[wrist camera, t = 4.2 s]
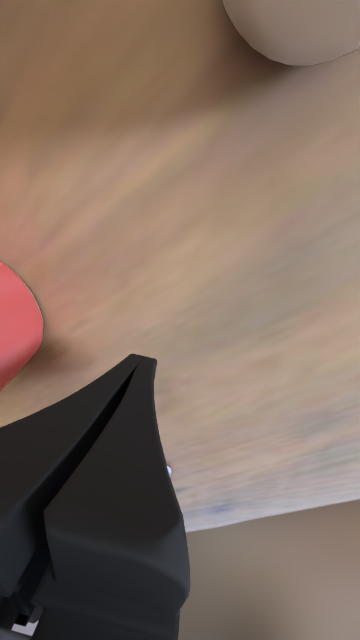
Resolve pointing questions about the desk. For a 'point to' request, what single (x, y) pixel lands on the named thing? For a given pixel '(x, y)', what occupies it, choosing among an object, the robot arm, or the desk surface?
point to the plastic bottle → (298, 28)
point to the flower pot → (17, 325)
